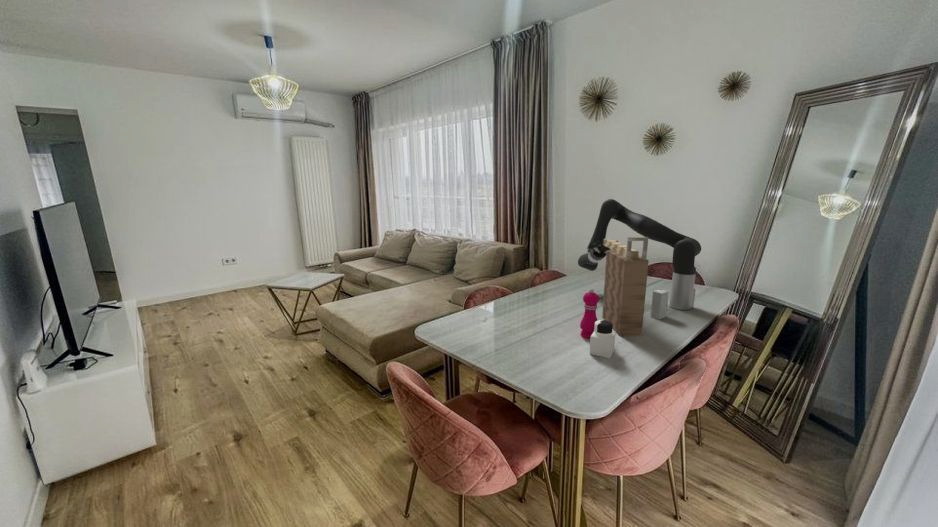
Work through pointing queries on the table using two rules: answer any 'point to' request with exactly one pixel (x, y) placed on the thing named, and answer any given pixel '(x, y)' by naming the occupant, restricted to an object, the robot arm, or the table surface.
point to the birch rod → (620, 248)
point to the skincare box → (659, 304)
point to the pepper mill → (589, 314)
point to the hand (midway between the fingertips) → (608, 242)
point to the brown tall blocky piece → (625, 289)
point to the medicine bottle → (602, 339)
